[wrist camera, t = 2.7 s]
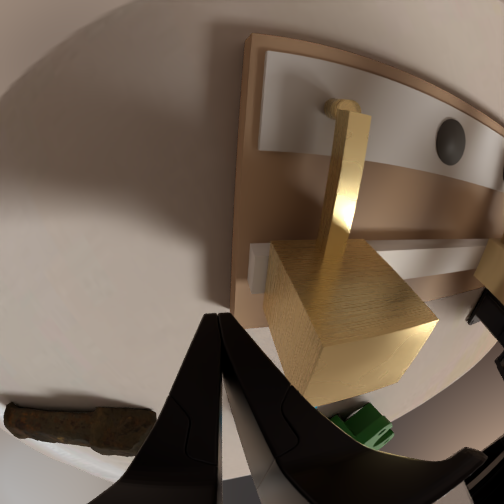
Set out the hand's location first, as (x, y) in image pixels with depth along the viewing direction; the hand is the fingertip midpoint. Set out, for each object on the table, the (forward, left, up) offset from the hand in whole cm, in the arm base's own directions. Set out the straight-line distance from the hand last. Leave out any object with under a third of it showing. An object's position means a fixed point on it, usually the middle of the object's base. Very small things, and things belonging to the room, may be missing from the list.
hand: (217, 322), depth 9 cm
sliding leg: (-4, -3, -3) cm, 6 cm away
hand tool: (+14, +17, -5) cm, 23 cm away
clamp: (-17, +26, -5) cm, 31 cm away
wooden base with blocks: (-12, -3, -5) cm, 13 cm away
